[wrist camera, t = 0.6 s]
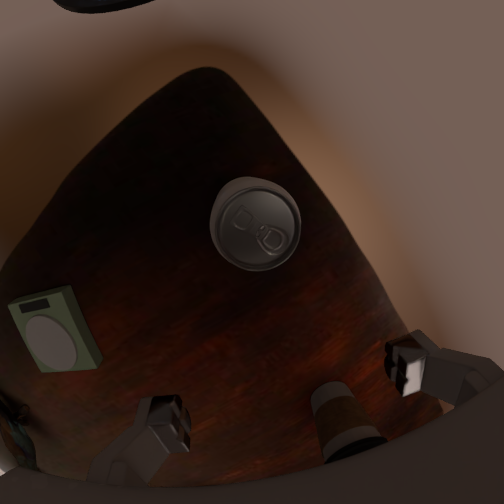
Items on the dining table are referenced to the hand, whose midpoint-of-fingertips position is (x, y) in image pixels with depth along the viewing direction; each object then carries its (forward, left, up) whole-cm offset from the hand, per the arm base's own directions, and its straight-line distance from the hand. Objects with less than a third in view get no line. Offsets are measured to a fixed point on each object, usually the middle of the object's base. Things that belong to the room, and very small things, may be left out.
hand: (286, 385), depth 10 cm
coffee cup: (+25, +7, -23) cm, 35 cm away
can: (-4, +1, -22) cm, 23 cm away
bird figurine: (+22, -51, -23) cm, 60 cm away
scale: (+5, -28, -22) cm, 36 cm away
